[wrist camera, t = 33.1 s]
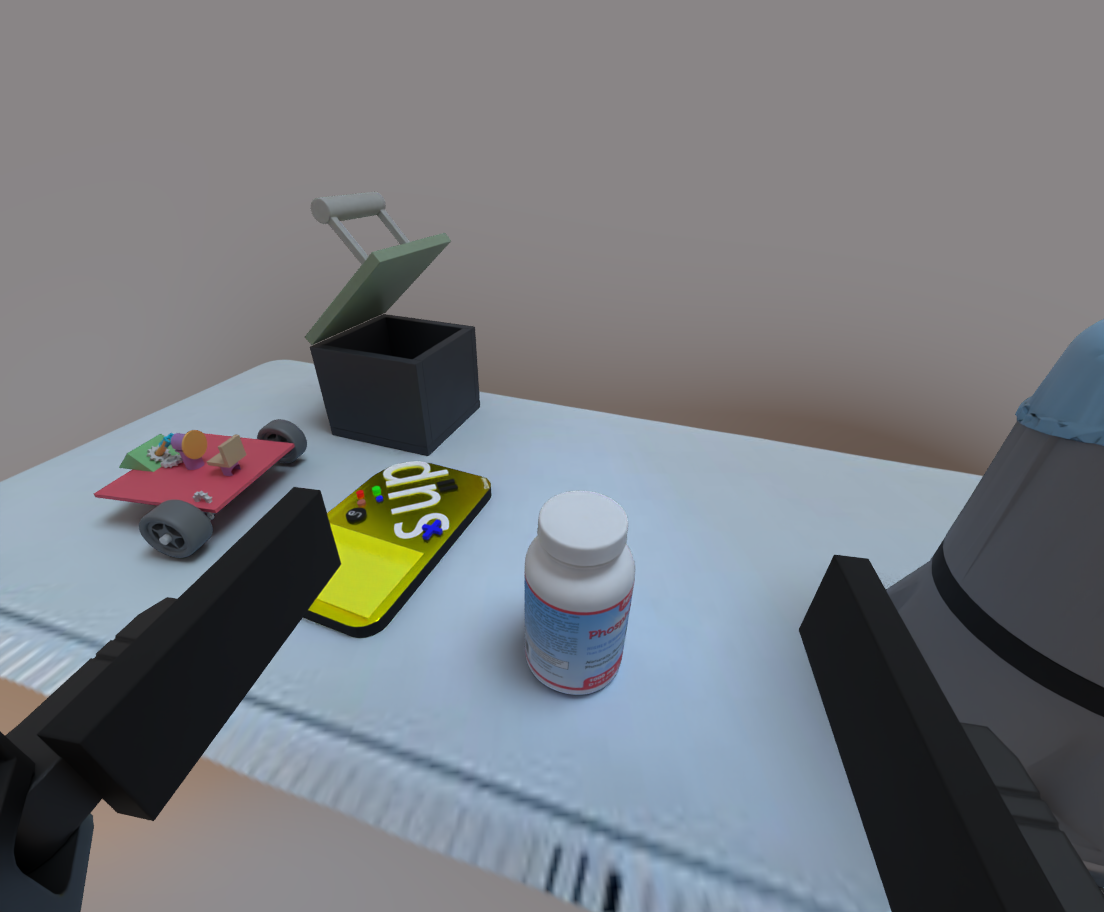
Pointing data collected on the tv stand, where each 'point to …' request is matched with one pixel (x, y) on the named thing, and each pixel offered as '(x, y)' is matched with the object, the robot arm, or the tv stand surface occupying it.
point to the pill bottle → (578, 592)
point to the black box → (399, 381)
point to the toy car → (197, 479)
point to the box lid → (370, 264)
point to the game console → (393, 541)
